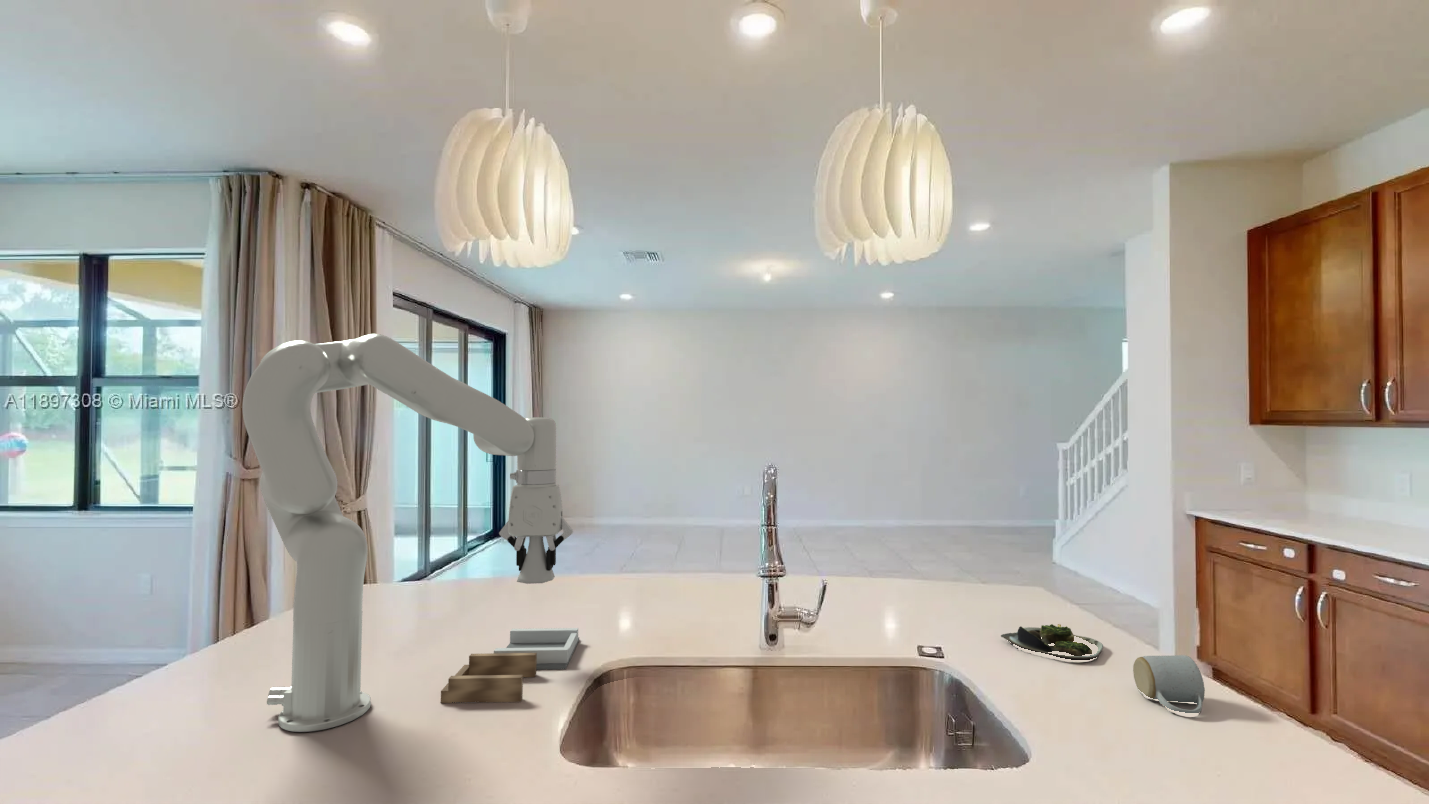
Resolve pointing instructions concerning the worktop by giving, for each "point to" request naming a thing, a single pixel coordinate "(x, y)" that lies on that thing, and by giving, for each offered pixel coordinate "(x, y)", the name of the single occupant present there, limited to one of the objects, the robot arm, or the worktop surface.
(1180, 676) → the ceramic mug
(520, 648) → the dock
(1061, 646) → the salad plate
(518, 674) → the wooden u-shaped bracket
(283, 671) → the worktop surface
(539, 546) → the flask
